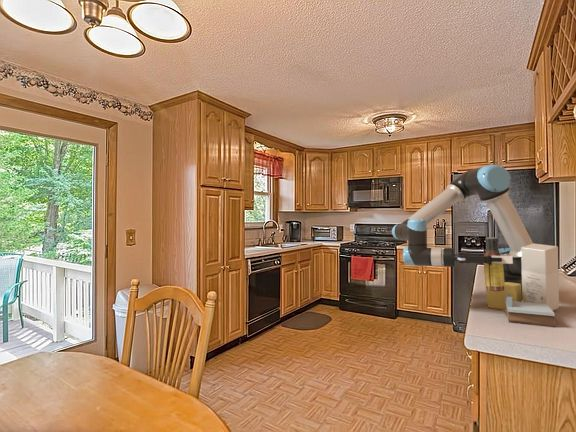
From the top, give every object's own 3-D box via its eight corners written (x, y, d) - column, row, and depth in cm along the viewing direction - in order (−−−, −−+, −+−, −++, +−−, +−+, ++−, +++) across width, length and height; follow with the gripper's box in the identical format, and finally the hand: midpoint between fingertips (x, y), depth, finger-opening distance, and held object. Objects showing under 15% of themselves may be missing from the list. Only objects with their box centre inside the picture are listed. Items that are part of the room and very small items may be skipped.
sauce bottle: (508, 290, 125) (506, 237, 125) (499, 292, 122) (497, 238, 122) (490, 287, 131) (488, 237, 131) (481, 289, 127) (479, 237, 128)
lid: (505, 302, 131) (504, 292, 131) (546, 306, 124) (545, 295, 124) (508, 311, 118) (508, 300, 118) (554, 316, 111) (554, 303, 112)
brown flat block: (505, 312, 130) (505, 303, 130) (547, 316, 124) (546, 307, 124) (508, 322, 118) (508, 312, 118) (554, 327, 112) (554, 316, 112)
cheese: (494, 303, 146) (493, 280, 146) (523, 307, 138) (522, 283, 138) (486, 307, 139) (485, 283, 140) (516, 312, 131) (515, 286, 132)
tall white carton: (559, 307, 132) (558, 246, 129) (546, 313, 128) (545, 250, 125) (534, 301, 139) (533, 243, 137) (522, 306, 136) (520, 247, 133)
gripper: (445, 263, 143) (509, 265, 132) (441, 269, 126) (514, 272, 115) (444, 246, 143) (508, 247, 132) (440, 249, 127) (513, 250, 115)
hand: (511, 258), depth 124 cm, fingers closed on sauce bottle, 6 cm apart
